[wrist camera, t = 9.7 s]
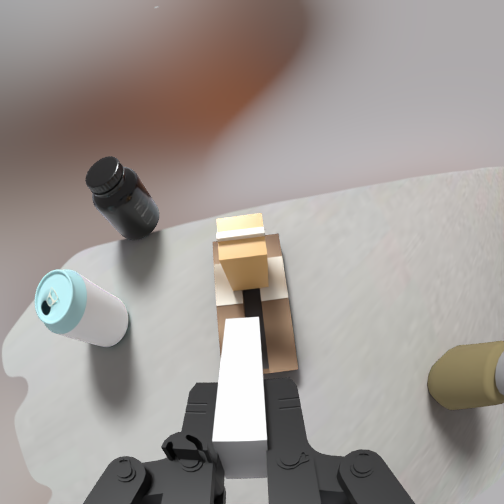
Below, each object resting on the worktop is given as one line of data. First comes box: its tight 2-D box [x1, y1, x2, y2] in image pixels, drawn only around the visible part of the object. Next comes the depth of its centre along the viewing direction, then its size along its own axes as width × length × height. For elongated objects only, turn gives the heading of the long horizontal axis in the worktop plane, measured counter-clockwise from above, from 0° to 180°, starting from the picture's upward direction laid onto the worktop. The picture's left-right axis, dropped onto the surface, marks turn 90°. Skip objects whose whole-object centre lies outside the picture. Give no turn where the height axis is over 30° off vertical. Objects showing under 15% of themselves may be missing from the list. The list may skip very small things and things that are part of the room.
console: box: [213, 234, 298, 374], centre depth 33 cm, size 16×8×3 cm, turn 6°
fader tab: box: [216, 213, 269, 291], centre depth 29 cm, size 4×4×11 cm
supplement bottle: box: [86, 156, 159, 240], centre depth 34 cm, size 7×7×12 cm
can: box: [35, 270, 128, 347], centre depth 28 cm, size 7×7×12 cm
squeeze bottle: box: [428, 341, 504, 410], centre depth 19 cm, size 8×8×18 cm
